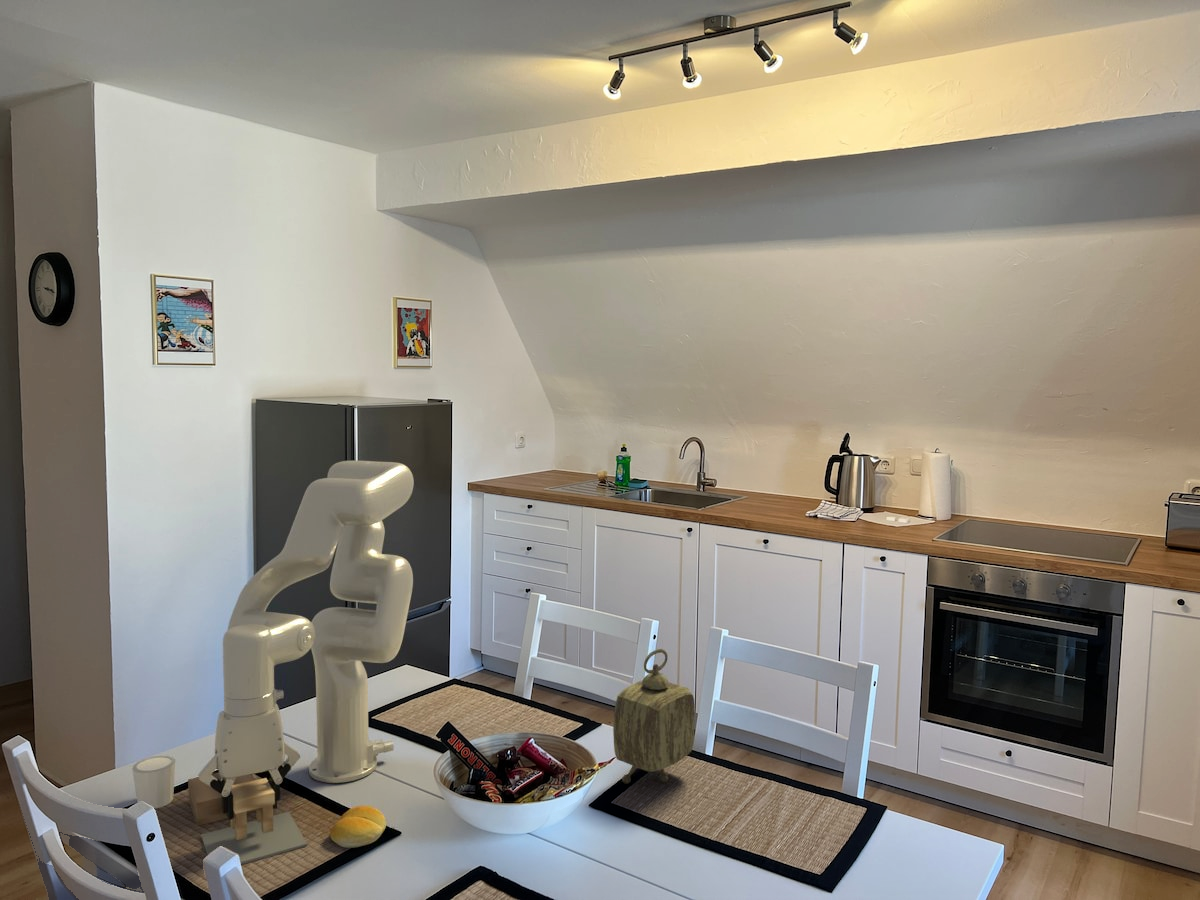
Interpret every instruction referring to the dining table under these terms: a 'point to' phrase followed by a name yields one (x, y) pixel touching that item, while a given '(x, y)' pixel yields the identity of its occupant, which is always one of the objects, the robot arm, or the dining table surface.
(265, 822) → the stool
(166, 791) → the cream cup
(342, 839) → the bread roll
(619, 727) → the tabletop clock
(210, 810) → the step
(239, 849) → the mat
